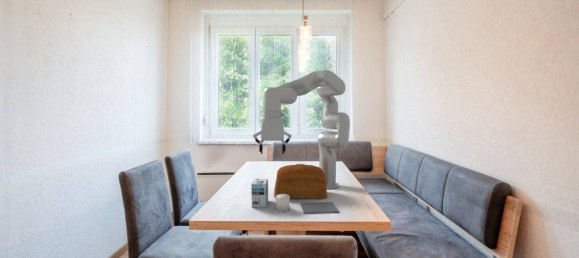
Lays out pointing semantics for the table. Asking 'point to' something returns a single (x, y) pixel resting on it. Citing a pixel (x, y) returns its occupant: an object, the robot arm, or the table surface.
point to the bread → (301, 182)
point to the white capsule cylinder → (282, 202)
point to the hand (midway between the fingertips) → (272, 153)
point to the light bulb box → (259, 193)
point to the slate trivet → (319, 207)
